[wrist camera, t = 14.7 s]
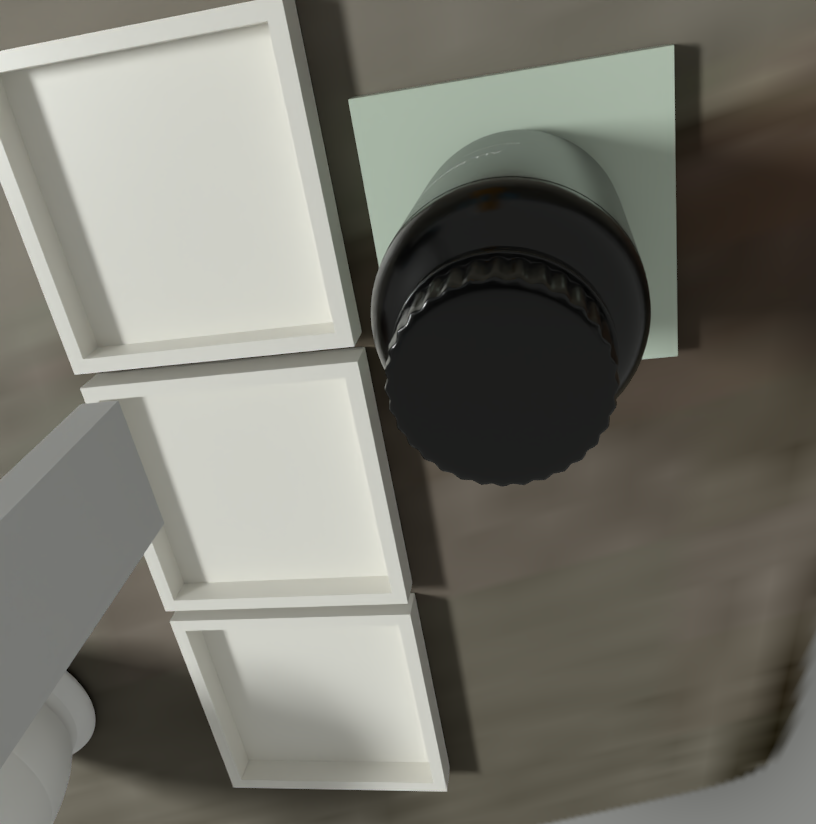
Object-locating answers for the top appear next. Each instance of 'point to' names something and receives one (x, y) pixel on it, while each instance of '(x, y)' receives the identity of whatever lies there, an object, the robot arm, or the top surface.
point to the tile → (548, 112)
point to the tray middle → (265, 481)
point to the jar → (46, 756)
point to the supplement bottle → (511, 310)
